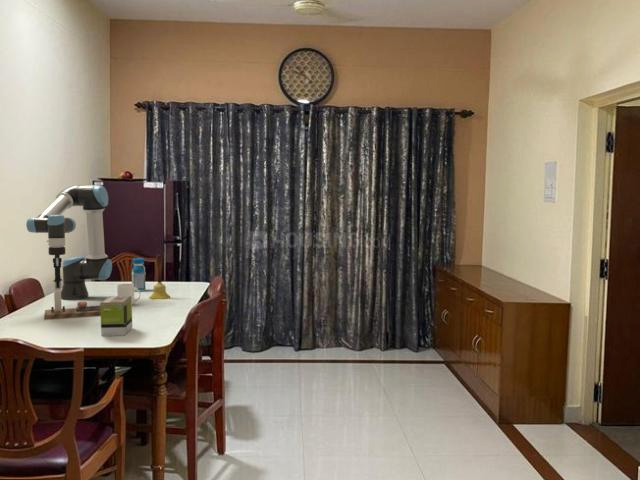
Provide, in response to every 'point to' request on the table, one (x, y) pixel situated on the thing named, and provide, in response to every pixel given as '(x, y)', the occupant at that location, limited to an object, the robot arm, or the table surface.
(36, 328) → the table surface
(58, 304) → the toggle lever
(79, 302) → the push button
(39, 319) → the table surface
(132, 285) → the mug
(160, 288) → the handbell
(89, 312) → the control board
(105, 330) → the tea box
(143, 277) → the beverage bottle
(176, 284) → the table surface
